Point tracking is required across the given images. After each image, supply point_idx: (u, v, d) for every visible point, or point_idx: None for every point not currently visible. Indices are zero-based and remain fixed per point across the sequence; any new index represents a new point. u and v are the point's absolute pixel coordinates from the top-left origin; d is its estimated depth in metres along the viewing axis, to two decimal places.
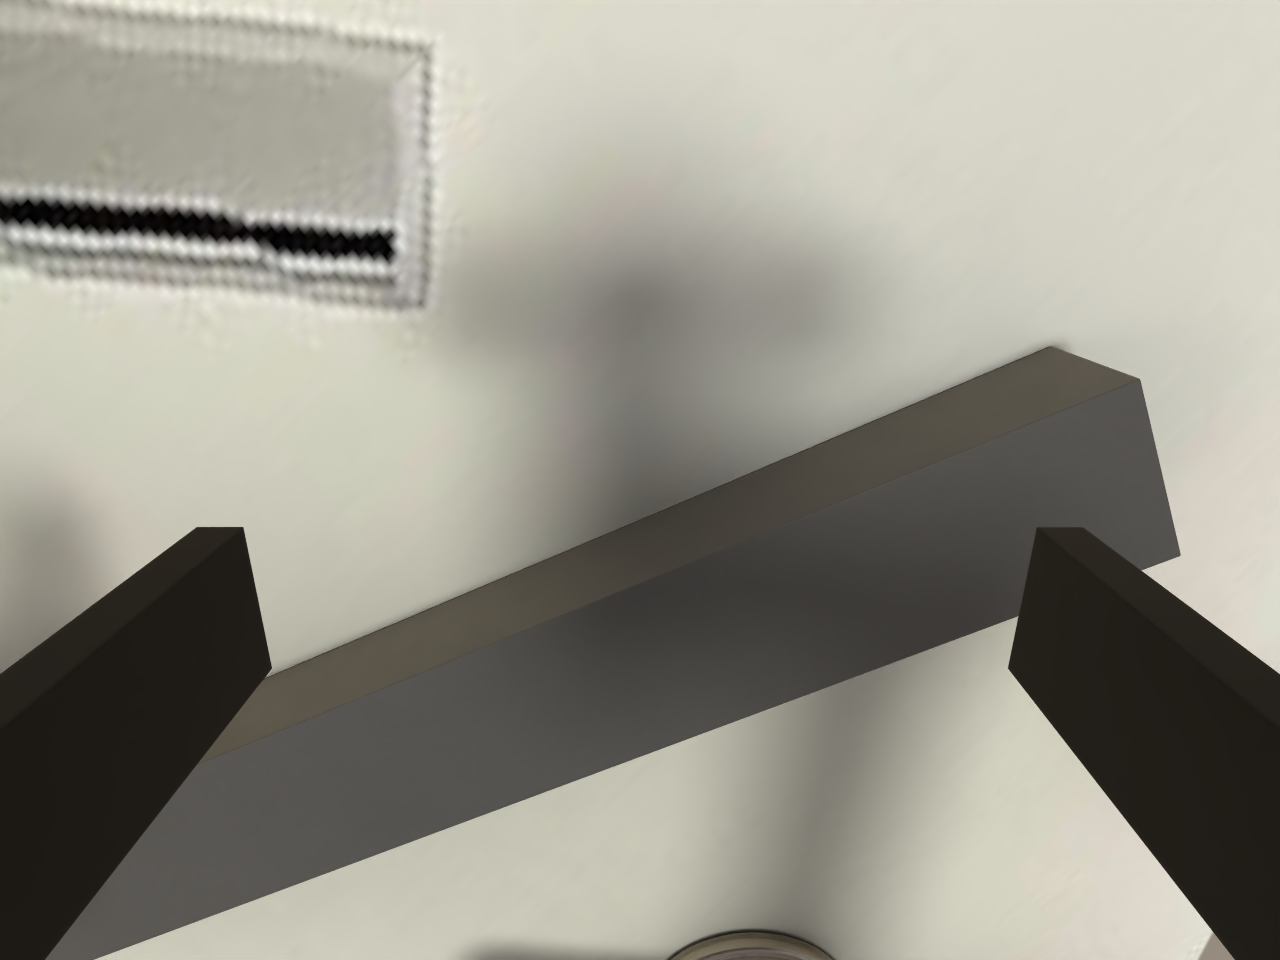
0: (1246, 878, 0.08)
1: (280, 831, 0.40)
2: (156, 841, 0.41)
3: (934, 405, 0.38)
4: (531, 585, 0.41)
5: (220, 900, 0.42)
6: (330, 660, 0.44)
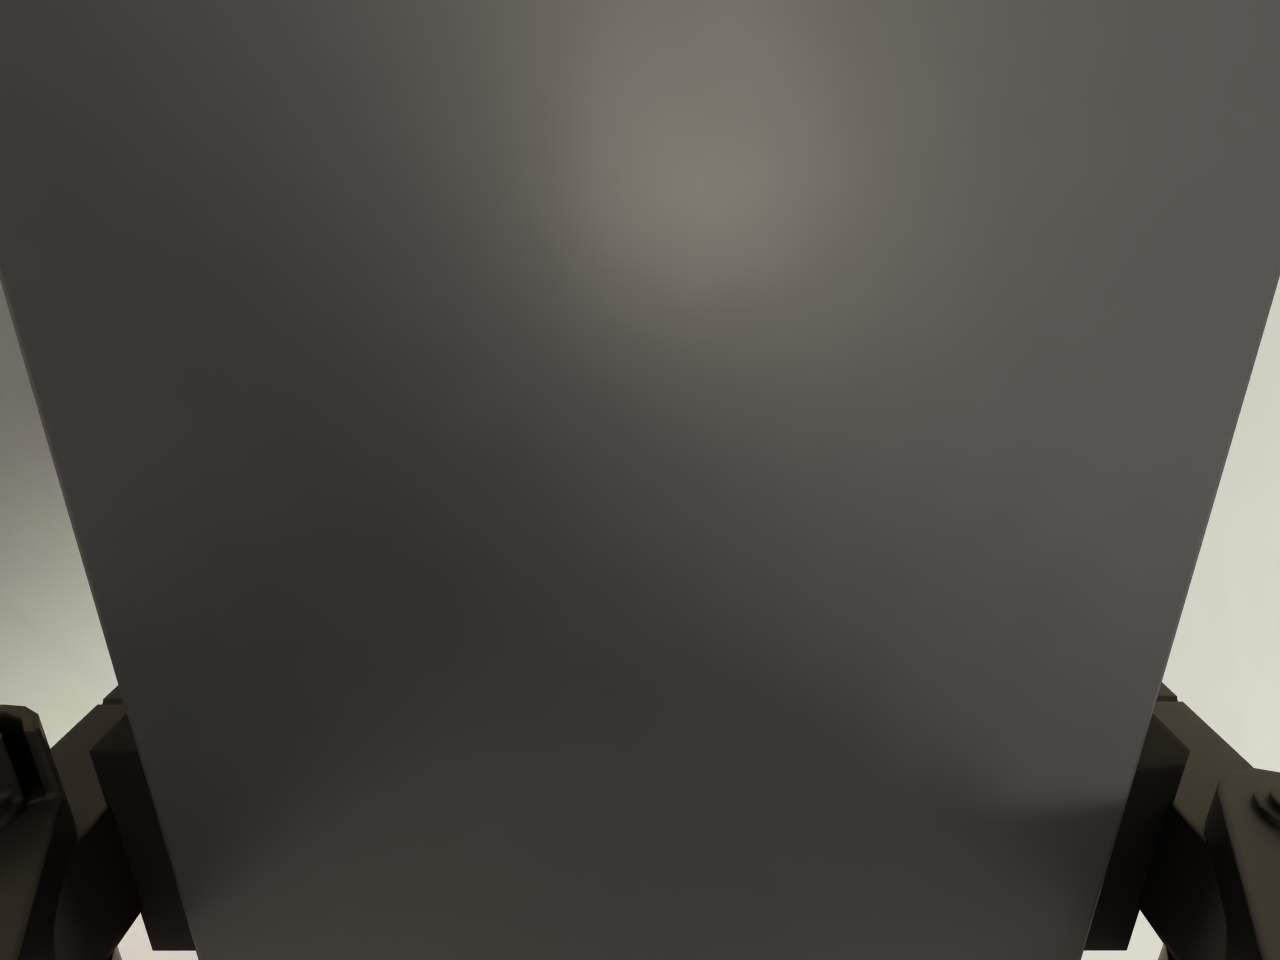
0: None
1: None
2: None
3: None
4: None
5: None
6: None
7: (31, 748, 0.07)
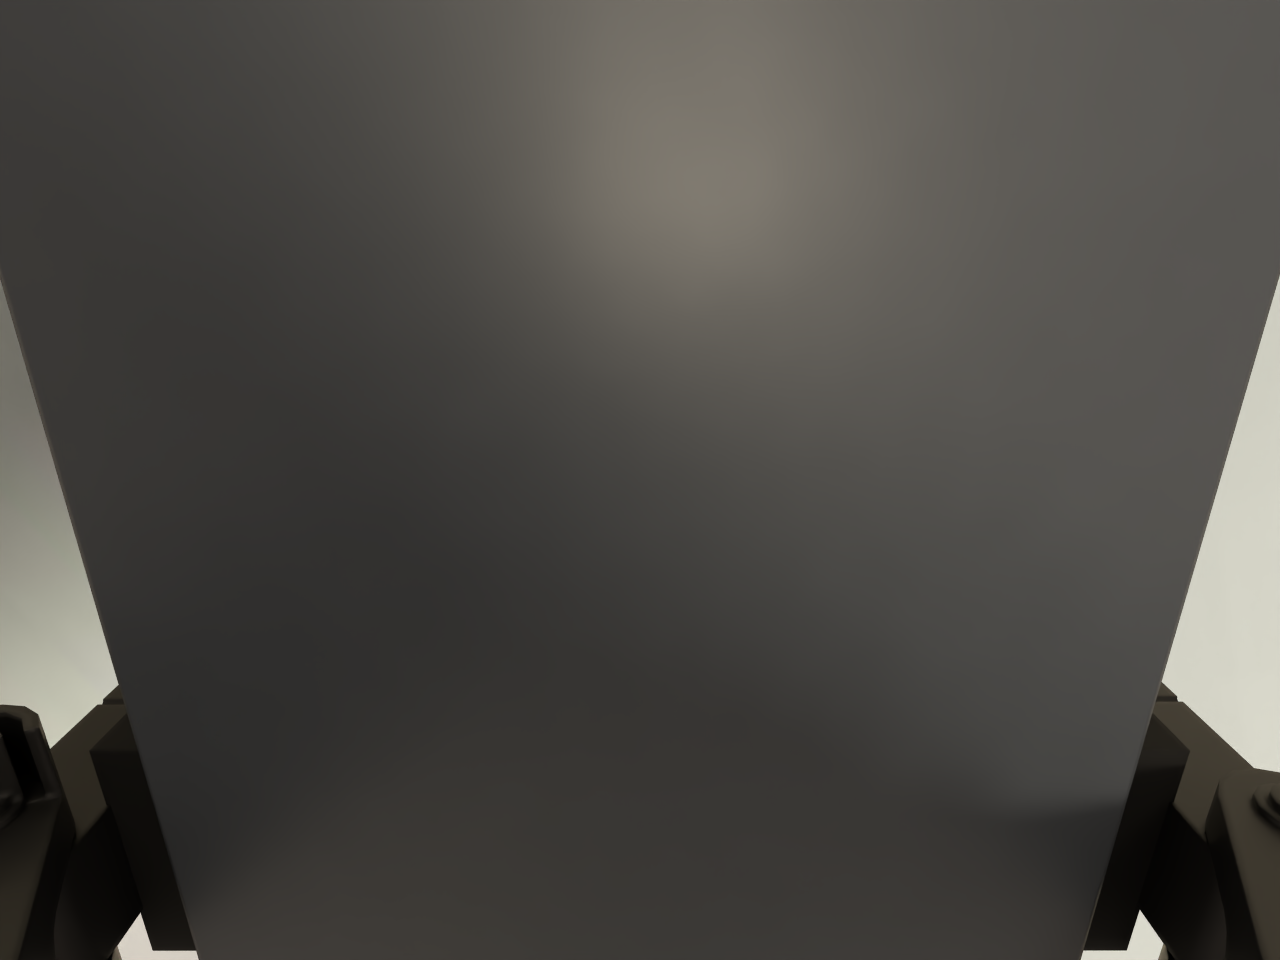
0: None
1: None
2: None
3: None
4: None
5: None
6: None
7: (31, 748, 0.07)
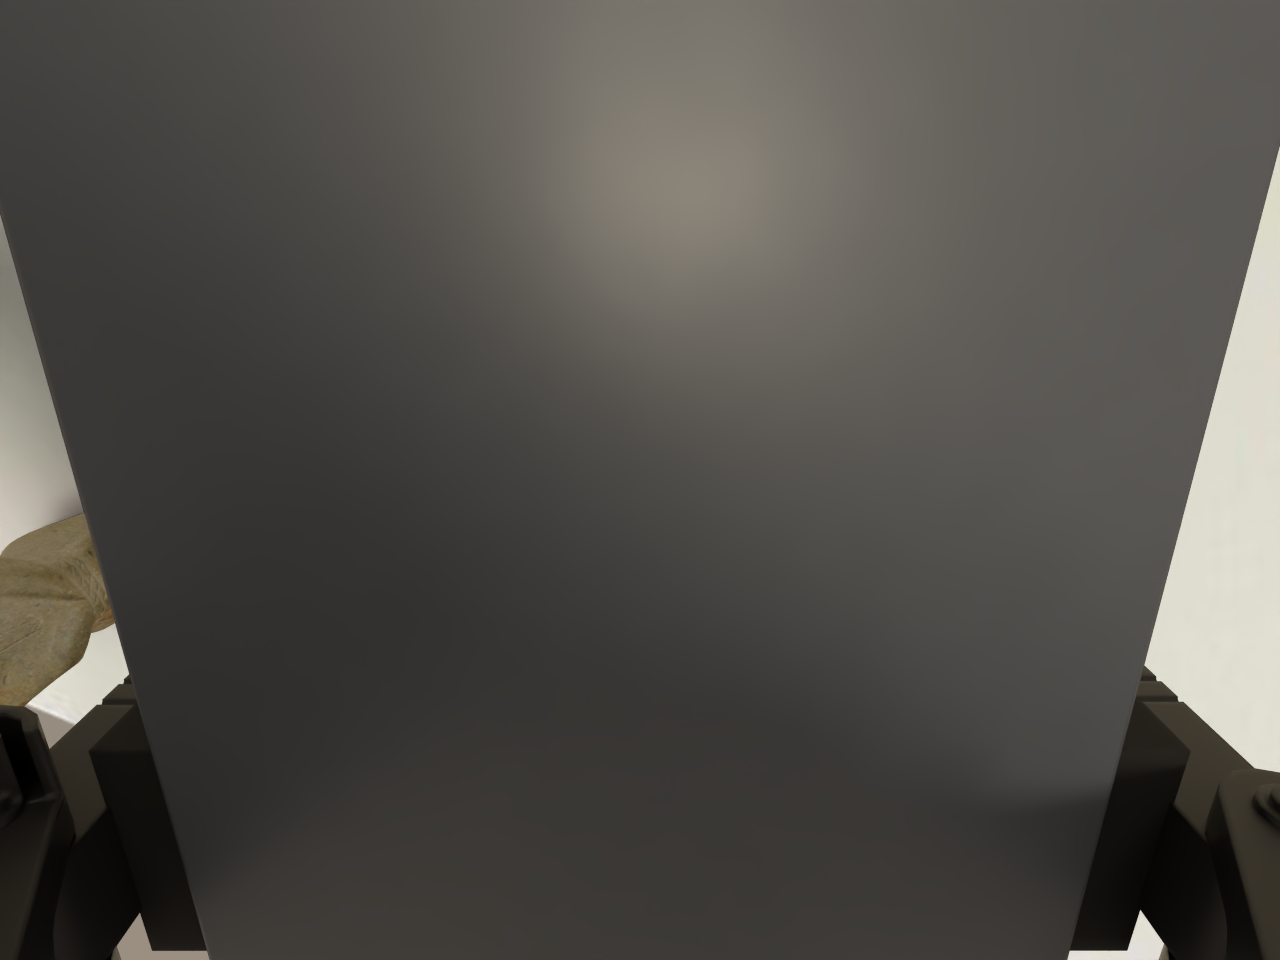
0: None
1: None
2: None
3: None
4: None
5: None
6: None
7: (30, 749, 0.07)
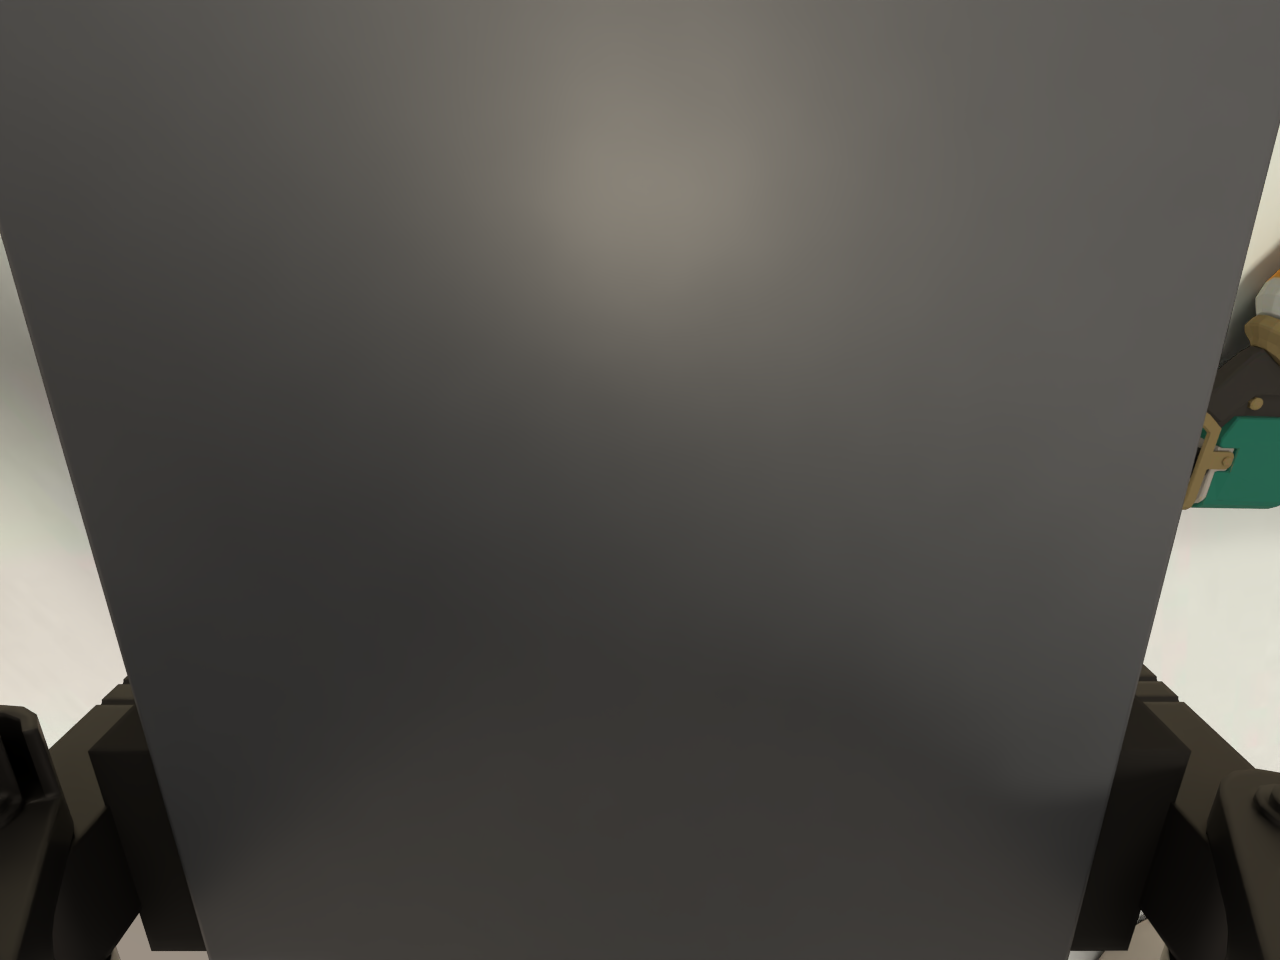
0: None
1: None
2: None
3: None
4: None
5: None
6: None
7: (29, 749, 0.07)
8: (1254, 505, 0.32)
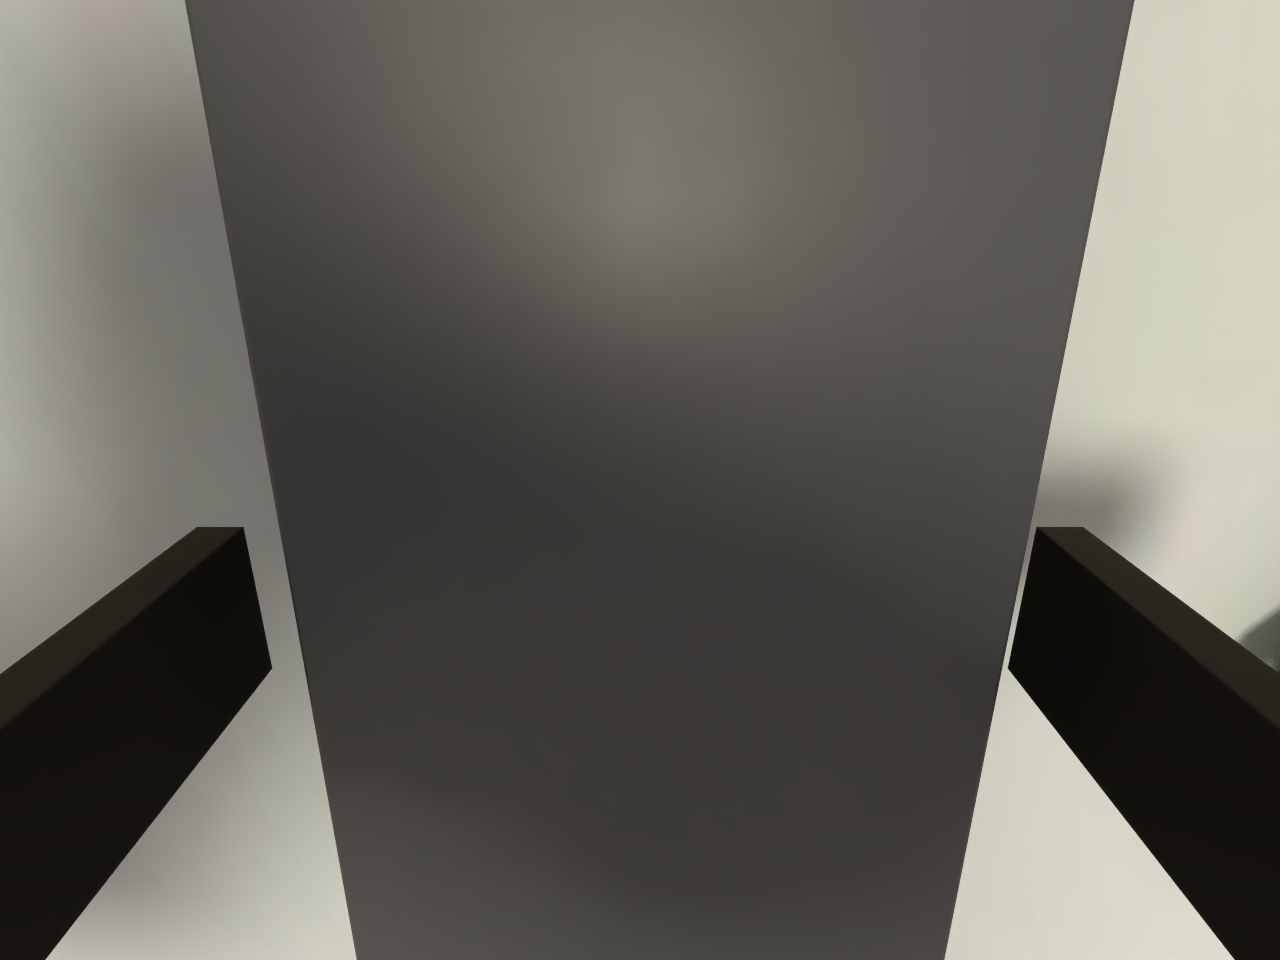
0: (1246, 878, 0.08)
1: None
2: None
3: None
4: None
5: None
6: None
7: None
8: None
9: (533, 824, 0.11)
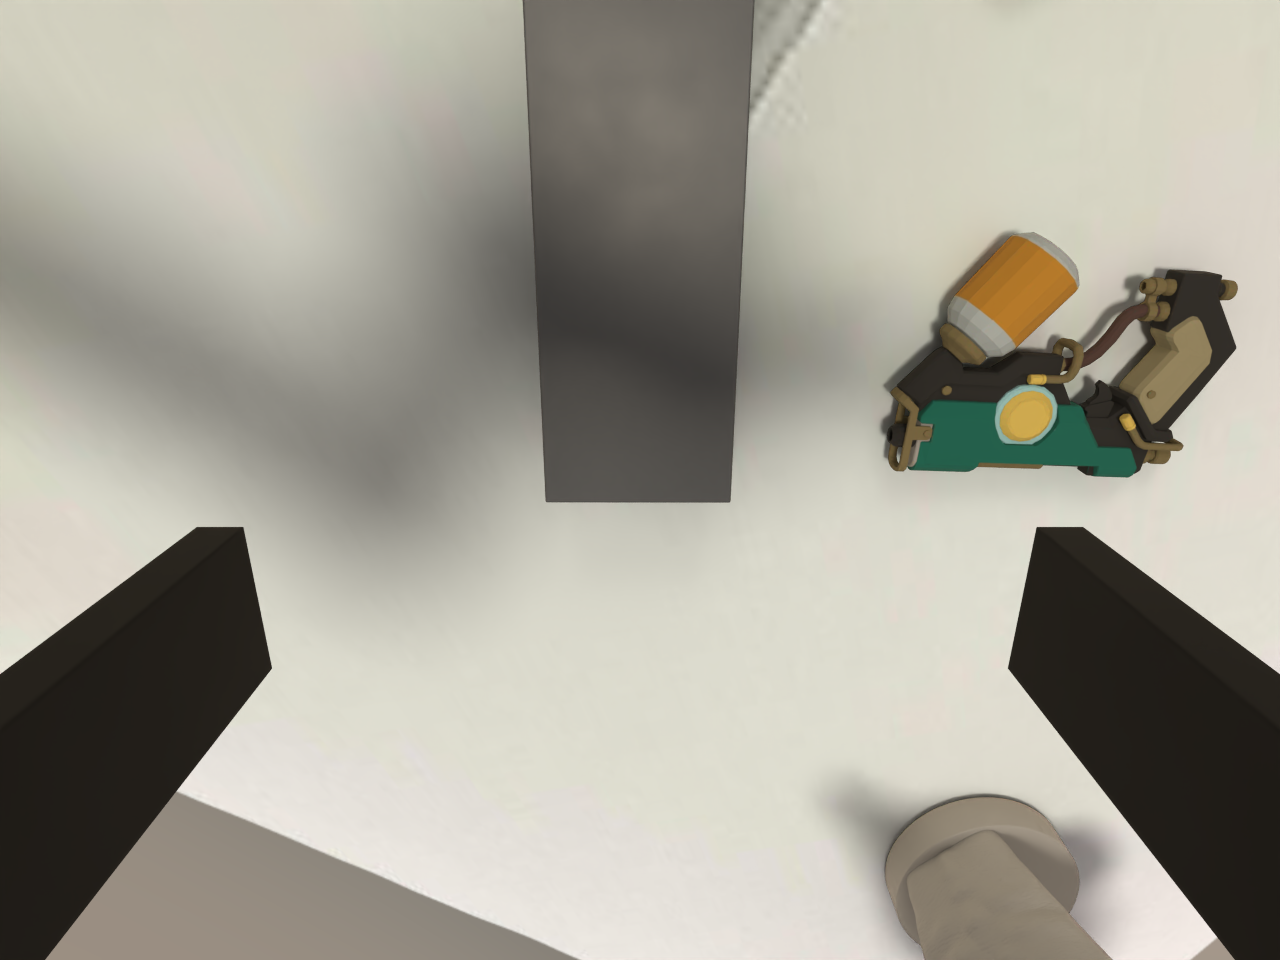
0: (1246, 878, 0.08)
1: None
2: None
3: None
4: None
5: None
6: None
7: None
8: (955, 468, 0.42)
9: (602, 384, 0.35)
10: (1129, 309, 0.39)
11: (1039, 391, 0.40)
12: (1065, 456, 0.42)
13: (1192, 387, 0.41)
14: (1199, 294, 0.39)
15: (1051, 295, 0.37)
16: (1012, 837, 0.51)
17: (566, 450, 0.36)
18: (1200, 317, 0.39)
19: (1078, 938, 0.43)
